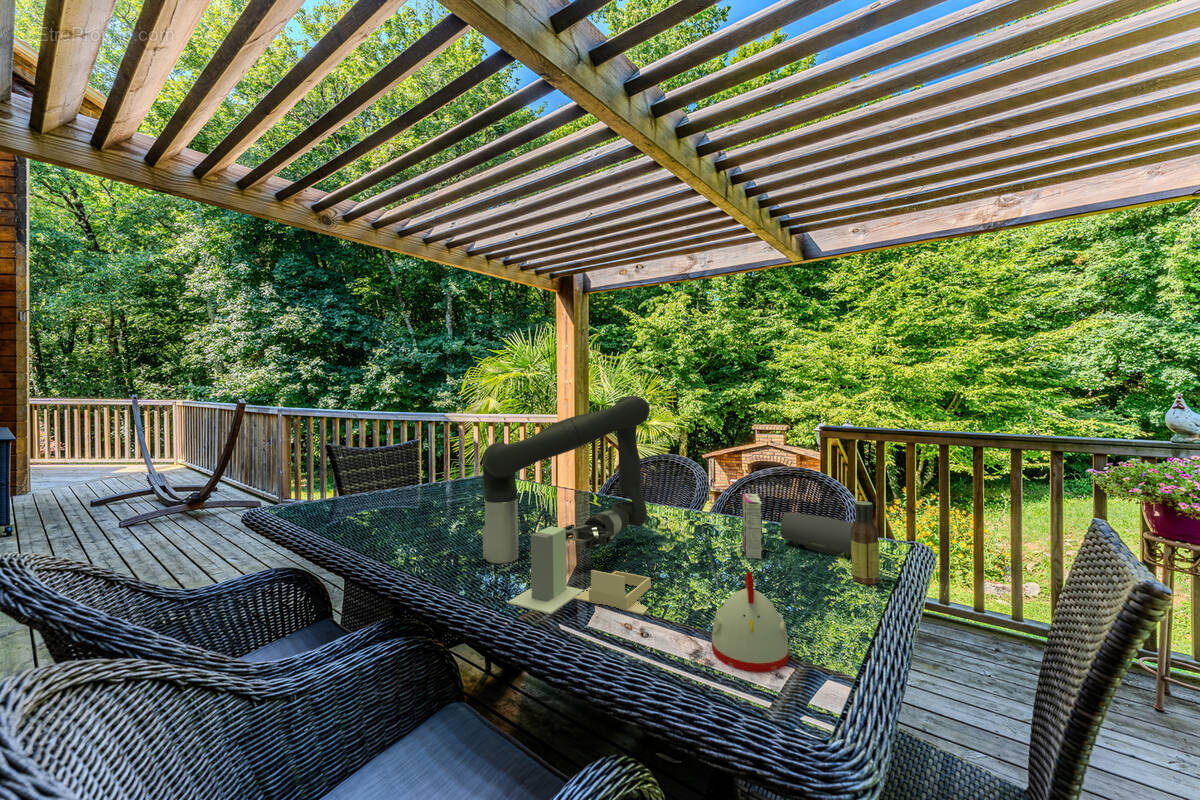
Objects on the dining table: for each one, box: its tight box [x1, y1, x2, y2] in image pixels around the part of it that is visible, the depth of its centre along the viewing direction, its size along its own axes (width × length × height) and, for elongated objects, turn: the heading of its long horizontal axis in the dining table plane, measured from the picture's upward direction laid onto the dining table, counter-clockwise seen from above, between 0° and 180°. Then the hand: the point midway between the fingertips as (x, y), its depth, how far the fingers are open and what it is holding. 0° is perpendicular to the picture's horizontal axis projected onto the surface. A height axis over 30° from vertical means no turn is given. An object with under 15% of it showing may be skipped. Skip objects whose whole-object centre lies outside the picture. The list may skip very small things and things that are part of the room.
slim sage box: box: [530, 525, 568, 602], centre depth 125 cm, size 4×8×15 cm, turn 150°
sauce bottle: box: [850, 500, 881, 585], centre depth 132 cm, size 6×6×20 cm
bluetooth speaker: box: [779, 512, 854, 556], centre depth 156 cm, size 23×9×10 cm, turn 47°
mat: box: [507, 585, 585, 615], centre depth 125 cm, size 12×14×1 cm
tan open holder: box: [573, 569, 652, 616], centre depth 127 cm, size 18×17×8 cm
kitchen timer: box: [711, 571, 789, 673], centre depth 99 cm, size 14×14×15 cm
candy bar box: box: [741, 492, 763, 560], centre depth 154 cm, size 11×5×16 cm, turn 168°
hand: (571, 542), depth 134 cm, fingers open, 8 cm apart
